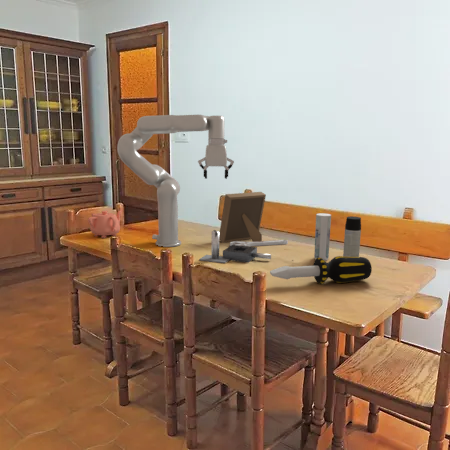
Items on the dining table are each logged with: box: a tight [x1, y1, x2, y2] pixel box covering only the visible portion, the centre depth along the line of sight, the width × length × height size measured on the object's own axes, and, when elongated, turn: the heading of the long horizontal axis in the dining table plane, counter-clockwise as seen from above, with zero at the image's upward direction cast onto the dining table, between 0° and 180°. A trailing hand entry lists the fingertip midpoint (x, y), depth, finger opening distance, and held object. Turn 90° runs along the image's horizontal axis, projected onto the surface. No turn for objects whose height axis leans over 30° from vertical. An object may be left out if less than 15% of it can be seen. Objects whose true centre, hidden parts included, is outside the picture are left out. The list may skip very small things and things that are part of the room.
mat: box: [198, 254, 230, 264], centre depth 206 cm, size 12×8×1 cm, turn 69°
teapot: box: [87, 209, 124, 239], centre depth 249 cm, size 16×17×14 cm
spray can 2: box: [313, 212, 332, 261], centre depth 208 cm, size 6×6×20 cm
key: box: [211, 229, 220, 259], centre depth 205 cm, size 6×3×12 cm, turn 9°
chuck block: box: [222, 245, 272, 263], centre depth 208 cm, size 20×12×4 cm, turn 69°
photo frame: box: [219, 191, 266, 244], centre depth 237 cm, size 15×22×25 cm
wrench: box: [229, 239, 288, 247], centre depth 232 cm, size 8×2×30 cm
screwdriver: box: [269, 255, 373, 285], centre depth 174 cm, size 39×10×10 cm, turn 103°
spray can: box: [342, 216, 362, 257], centre depth 201 cm, size 7×7×20 cm
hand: (215, 178), depth 225 cm, fingers open, 9 cm apart
